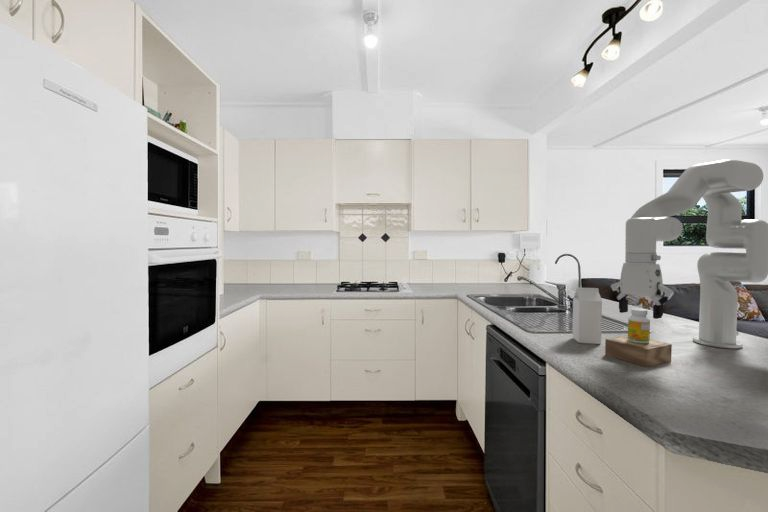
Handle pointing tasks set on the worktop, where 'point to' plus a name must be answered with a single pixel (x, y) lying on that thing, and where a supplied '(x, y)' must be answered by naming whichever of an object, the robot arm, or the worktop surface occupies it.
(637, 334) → the supplement bottle
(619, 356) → the pedestal
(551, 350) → the worktop surface
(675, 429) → the worktop surface
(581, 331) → the milk carton
